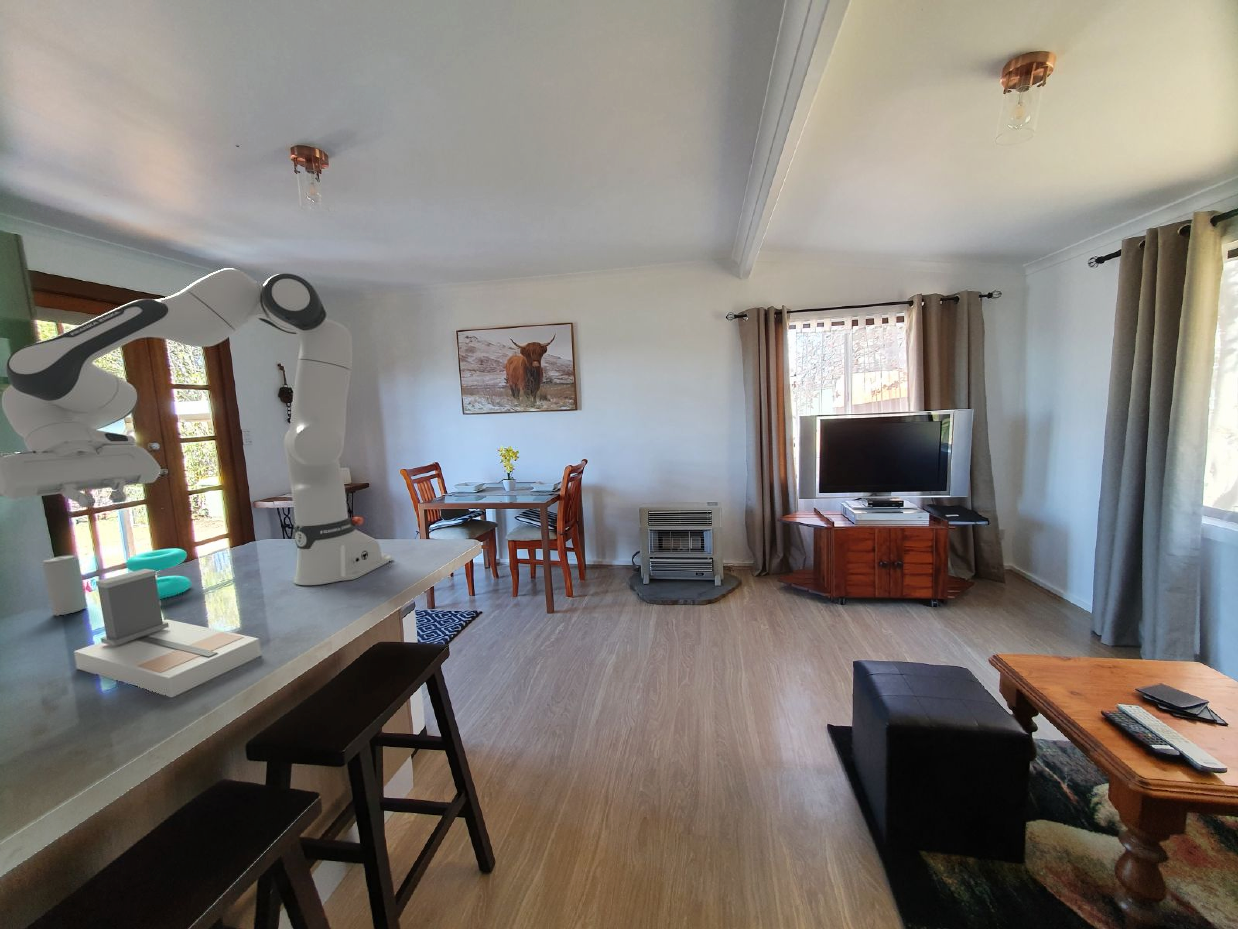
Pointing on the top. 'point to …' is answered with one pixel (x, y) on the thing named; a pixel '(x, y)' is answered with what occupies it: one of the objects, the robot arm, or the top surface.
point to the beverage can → (64, 584)
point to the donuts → (160, 562)
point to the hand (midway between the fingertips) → (105, 502)
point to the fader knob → (130, 606)
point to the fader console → (170, 657)
